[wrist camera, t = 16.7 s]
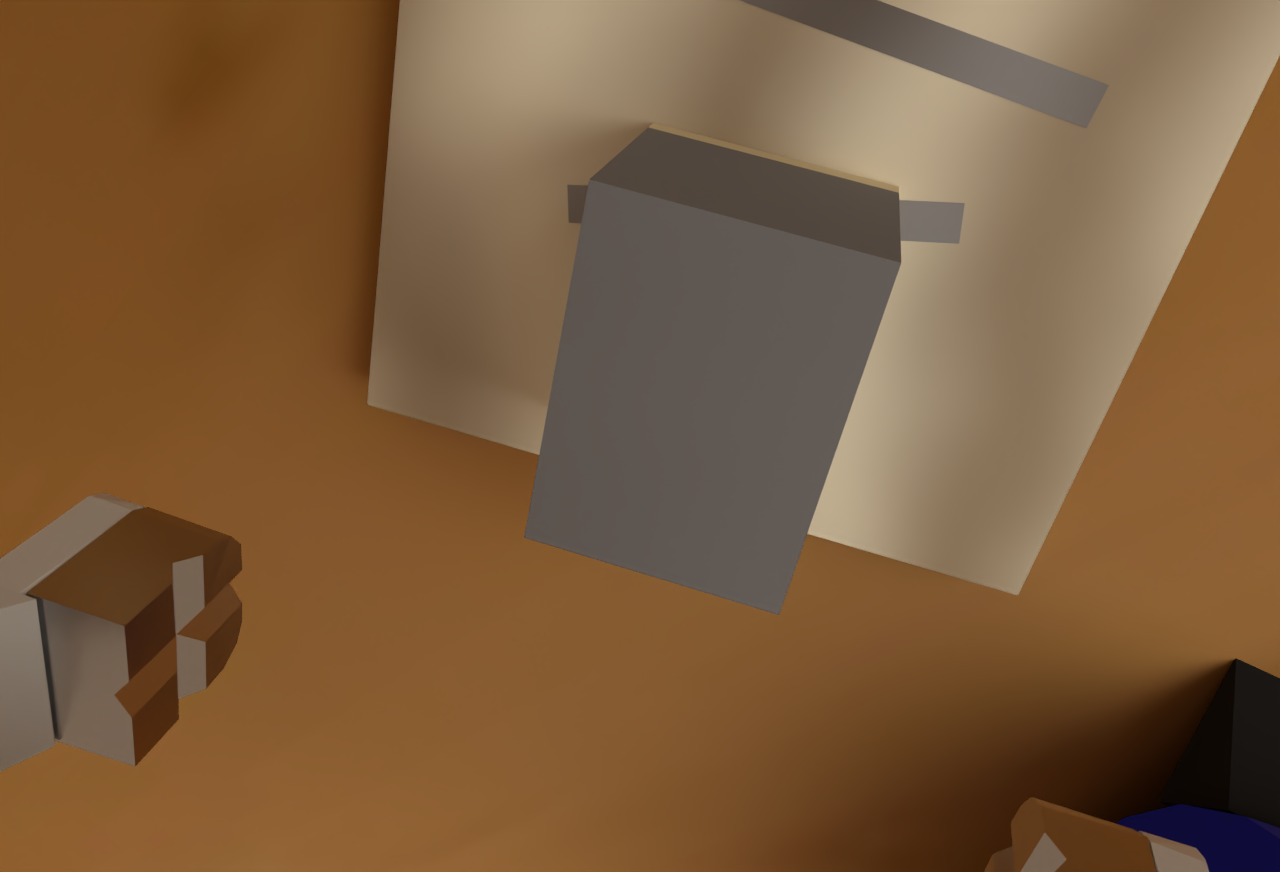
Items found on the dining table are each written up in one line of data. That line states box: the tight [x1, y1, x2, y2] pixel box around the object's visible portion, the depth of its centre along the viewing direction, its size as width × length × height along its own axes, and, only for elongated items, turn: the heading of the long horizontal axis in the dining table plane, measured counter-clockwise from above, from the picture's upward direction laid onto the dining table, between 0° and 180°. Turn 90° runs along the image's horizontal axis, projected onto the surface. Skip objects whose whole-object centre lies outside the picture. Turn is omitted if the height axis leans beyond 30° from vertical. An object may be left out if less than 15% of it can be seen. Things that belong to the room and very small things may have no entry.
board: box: [367, 0, 1280, 595], centre depth 19 cm, size 16×22×1 cm
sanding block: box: [524, 123, 901, 615], centre depth 20 cm, size 5×7×5 cm
